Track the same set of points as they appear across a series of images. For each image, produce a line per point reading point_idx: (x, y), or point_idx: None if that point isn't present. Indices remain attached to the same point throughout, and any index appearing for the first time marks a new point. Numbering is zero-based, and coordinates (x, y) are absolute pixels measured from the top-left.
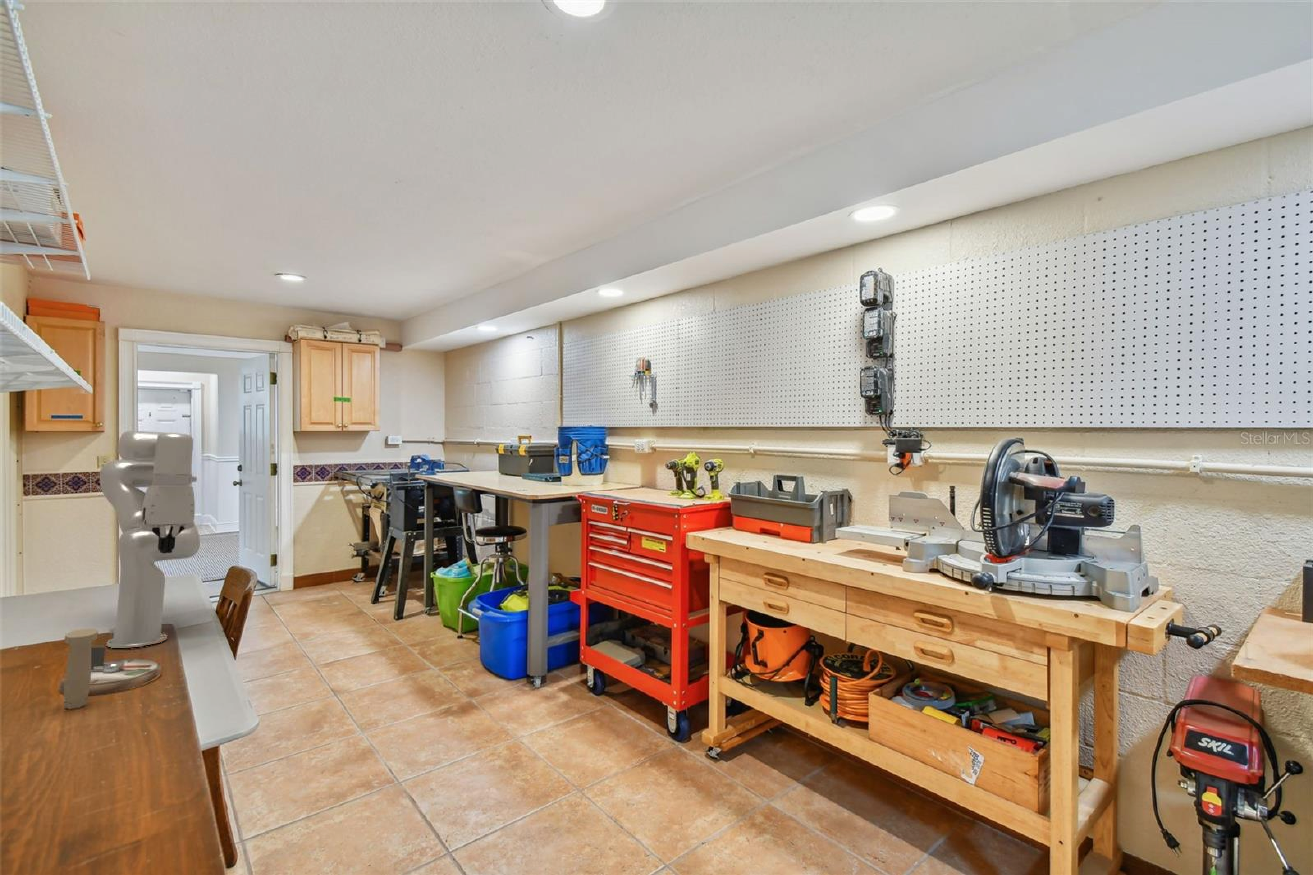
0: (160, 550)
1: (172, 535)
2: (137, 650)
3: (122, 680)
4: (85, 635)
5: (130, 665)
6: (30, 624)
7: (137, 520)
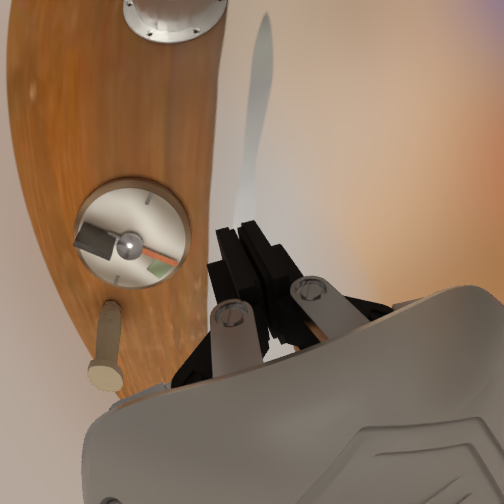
0: (218, 241)
1: (295, 346)
2: (166, 56)
3: (147, 284)
4: (114, 389)
5: (151, 252)
6: None
7: None
